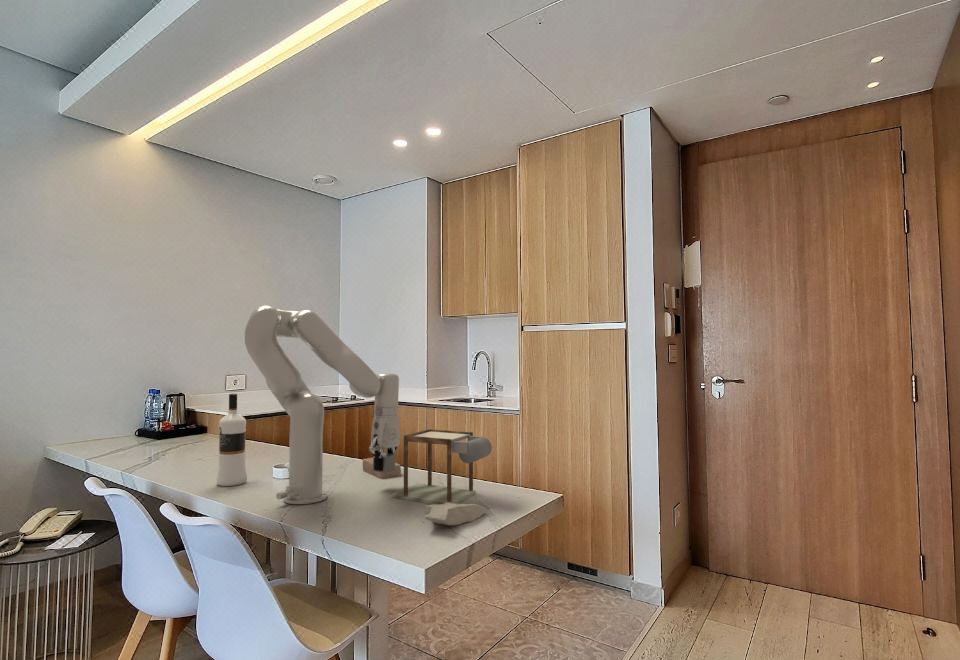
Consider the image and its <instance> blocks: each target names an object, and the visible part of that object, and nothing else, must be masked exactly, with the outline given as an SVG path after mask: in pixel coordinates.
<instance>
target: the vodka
mask: <svg viewBox="0 0 960 660" xmlns="http://www.w3.org/2000/svg"><path fill="white" fill-rule="evenodd" d="M218 425H219V429H218V430H219V435H218V437H219V439H218V441H219V443H218V470H217V471H218V472H217V476H216V484H217V485H218V486H220V487H235V486H240V485H243V484H244V483H246V482H247V480H248V474H247V468H246V454H247V452H246V431H247V420H246V418H245V417H244V416H243V415H241V414H239V413H238V394H237V393H229V394H228V414H227V413H226V415H225V416H223V417H222V418H221V419H219V422H218Z"/></svg>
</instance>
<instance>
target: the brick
mask: <svg viewBox="0 0 960 660" xmlns="http://www.w3.org/2000/svg"><path fill="white" fill-rule="evenodd" d="M401 467H402V465H401V464H399V463H397V462H395V470H394V471H390V472H387V473H383V472H376V471H373V457H368V458H363V459H362V470H363V471H364V472H365V473H367V474H370V475H372V476H374V477H376V478H379V479H389V478H395V477H401V475H402V474H401V473H402V469H401Z"/></svg>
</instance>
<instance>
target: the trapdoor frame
mask: <svg viewBox="0 0 960 660" xmlns="http://www.w3.org/2000/svg"><path fill="white" fill-rule="evenodd" d="M430 431H431V432H444V433H457V434H470V435H471V436H474V432H472V431H462V430H461V431H459V430H458V431H457V430H449V429H448V430H447V429H446V430H444V429H435V428H434V429H431V428H427V429H425V430H420V431H416V432H413V433H410V434H409V433H408V434H405V435H403V489H401V490H398V491H397V492H394V493H392V494H390V496H391V498H393V499H400V500H406V501H414V502H419V503H420V502H421V503H426V504H432V505H434V504H436V505H440V504H444V503H447V502H450V503H452V504H460V502H462V501H464V500H466V499H467V498H470V497H471V496H473V495H475V494H476V490H474V462H472V463H468V489H465V488H457V487H452V443H451V439H443V438H431V437H419V436H416V435H419V434H423V433H427V432H430ZM409 442H410V443H422V444H427V483H419V482H418V483H416V484H414V485H411V486H409ZM432 445H442V446H443V445H444V446H446V486H441V485H435V484H432V483H433V482H432V481H433V473H432V472H433V470H432V469H433V468H432V466H433V460H432V459H433V455H432V454H433V451H432V449H433V446H432Z"/></svg>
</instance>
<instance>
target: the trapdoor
mask: <svg viewBox="0 0 960 660" xmlns="http://www.w3.org/2000/svg"><path fill="white" fill-rule="evenodd" d="M416 436H419V437H431V438H443V439H451V453H455V454H458V456H459V459H460V461H462V462H463V463H465V464H469V463H472V462H473V463H474V462H476V461H479V460H482V459H484V458H486V457H488V456H490V454H491V452H492V450H493V445H492V442H491V441H490V440H489V439H488V438H487V437H484V436H479V435H478V436H476V435H475V436H474V435H473V436H471V435H470V434H457V433H444V432H431V431H430V432H427V433H423V434H419V435H416ZM465 439H467V441H463V440H465Z"/></svg>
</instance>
